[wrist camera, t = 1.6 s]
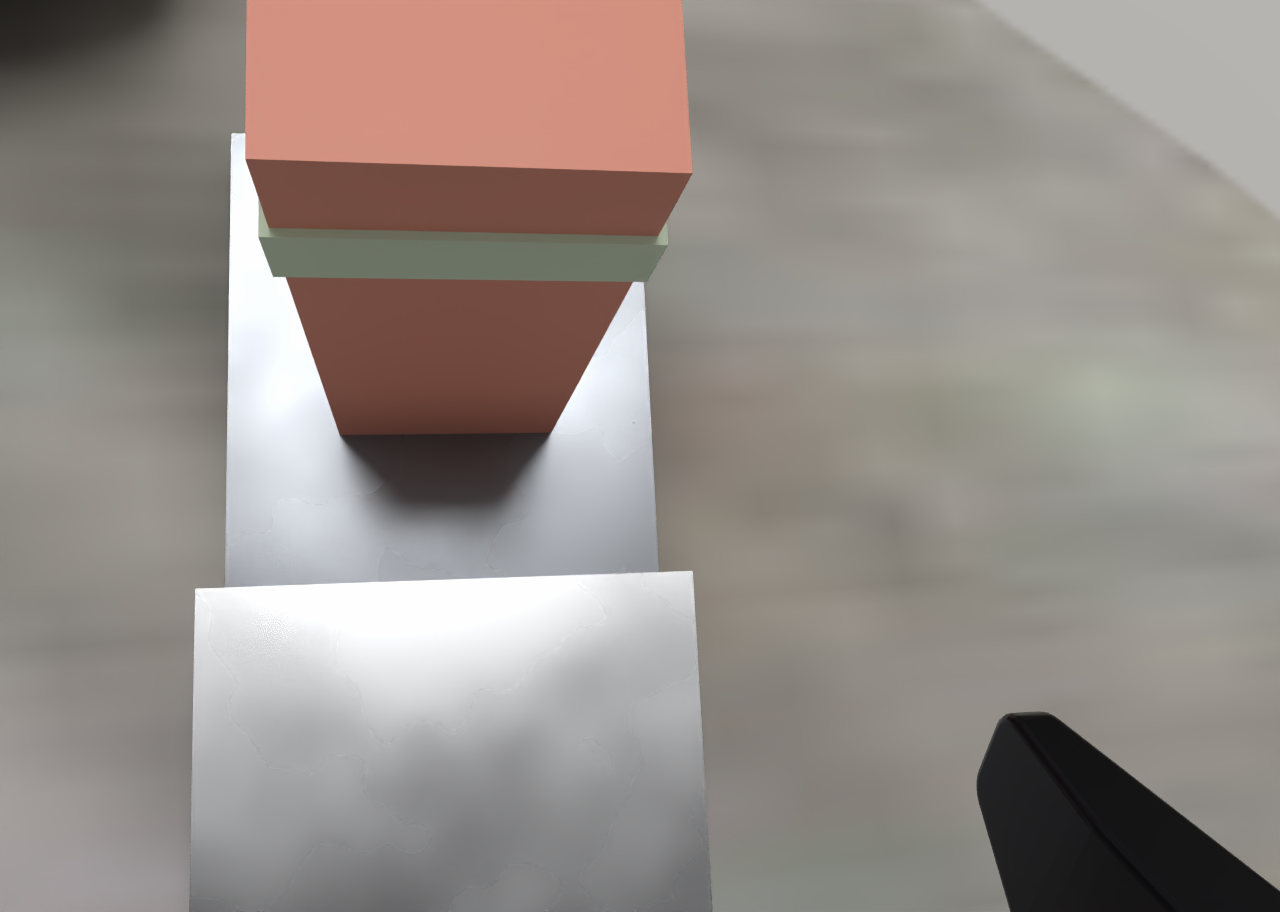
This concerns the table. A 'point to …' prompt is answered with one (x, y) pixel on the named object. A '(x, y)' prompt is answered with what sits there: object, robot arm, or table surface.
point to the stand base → (421, 473)
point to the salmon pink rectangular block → (462, 193)
